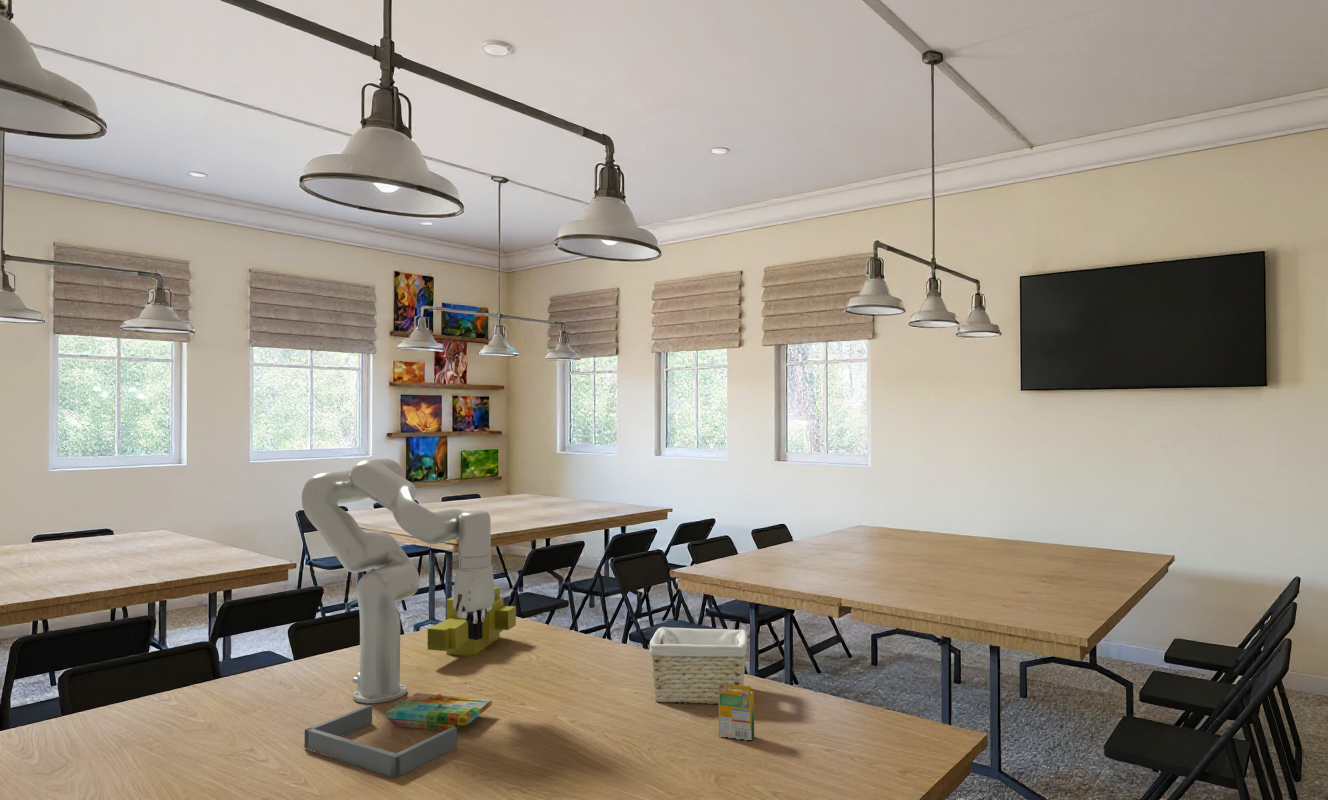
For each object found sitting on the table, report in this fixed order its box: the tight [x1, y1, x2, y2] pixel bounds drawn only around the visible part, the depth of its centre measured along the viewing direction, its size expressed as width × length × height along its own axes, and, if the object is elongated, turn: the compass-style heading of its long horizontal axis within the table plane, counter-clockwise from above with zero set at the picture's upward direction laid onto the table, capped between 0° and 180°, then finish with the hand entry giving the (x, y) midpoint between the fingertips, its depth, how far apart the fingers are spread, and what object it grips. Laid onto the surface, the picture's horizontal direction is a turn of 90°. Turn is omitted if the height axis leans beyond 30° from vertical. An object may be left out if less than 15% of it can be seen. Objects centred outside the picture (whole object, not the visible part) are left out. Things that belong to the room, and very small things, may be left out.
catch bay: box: [303, 704, 458, 779], centre depth 160 cm, size 27×16×4 cm, turn 60°
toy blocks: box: [427, 586, 517, 656], centre depth 229 cm, size 35×16×16 cm
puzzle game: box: [385, 692, 493, 732], centre depth 175 cm, size 12×5×20 cm
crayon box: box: [718, 683, 755, 741], centre depth 165 cm, size 7×3×12 cm, turn 71°
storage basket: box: [649, 626, 749, 705], centre depth 192 cm, size 24×16×15 cm
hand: (475, 638), depth 185 cm, fingers closed
